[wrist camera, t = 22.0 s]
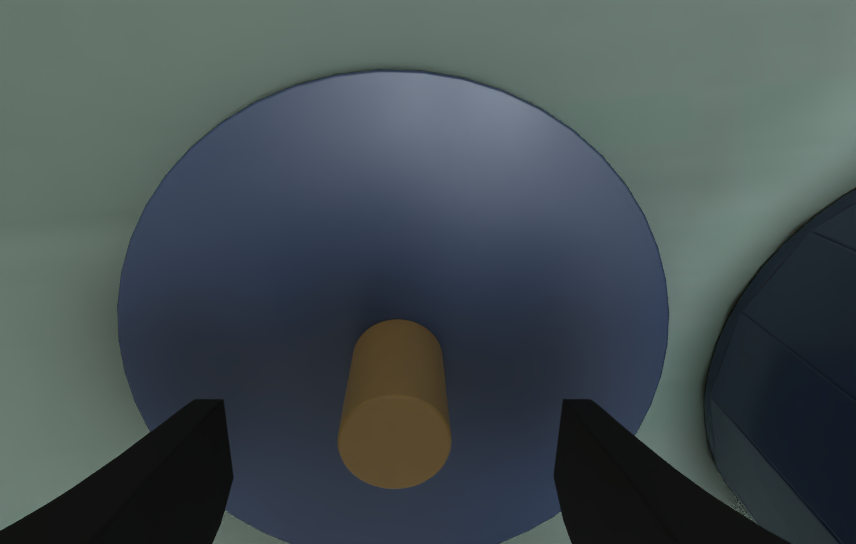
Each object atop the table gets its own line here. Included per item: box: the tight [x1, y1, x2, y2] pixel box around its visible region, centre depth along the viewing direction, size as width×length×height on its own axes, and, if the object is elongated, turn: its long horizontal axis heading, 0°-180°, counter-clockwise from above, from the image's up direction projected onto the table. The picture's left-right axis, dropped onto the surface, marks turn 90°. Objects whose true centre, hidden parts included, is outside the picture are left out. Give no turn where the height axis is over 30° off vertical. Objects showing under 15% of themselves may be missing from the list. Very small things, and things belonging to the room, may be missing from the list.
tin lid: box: [117, 69, 669, 544], centre depth 14 cm, size 15×15×5 cm
